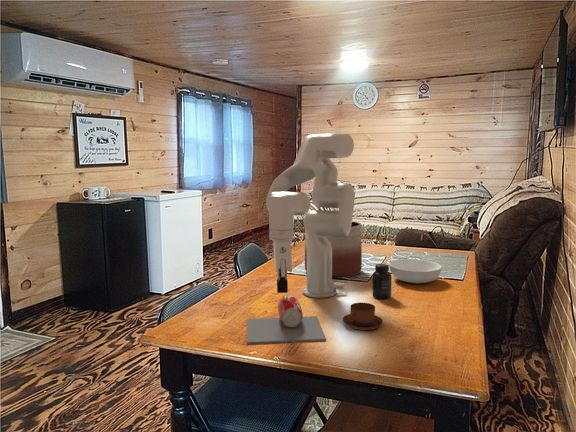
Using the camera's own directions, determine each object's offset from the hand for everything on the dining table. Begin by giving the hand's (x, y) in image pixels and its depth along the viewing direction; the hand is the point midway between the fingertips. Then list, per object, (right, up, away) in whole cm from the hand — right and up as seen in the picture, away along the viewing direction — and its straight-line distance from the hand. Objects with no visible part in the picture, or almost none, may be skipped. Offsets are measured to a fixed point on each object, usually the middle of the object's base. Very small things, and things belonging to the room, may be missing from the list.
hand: (282, 291), depth 138 cm
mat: (+1, -10, -7) cm, 12 cm away
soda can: (+2, -5, +4) cm, 6 cm away
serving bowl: (+54, -3, +45) cm, 71 cm away
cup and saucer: (+24, -10, -4) cm, 27 cm away
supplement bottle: (+36, -6, +24) cm, 44 cm away
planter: (+22, -2, +61) cm, 65 cm away
